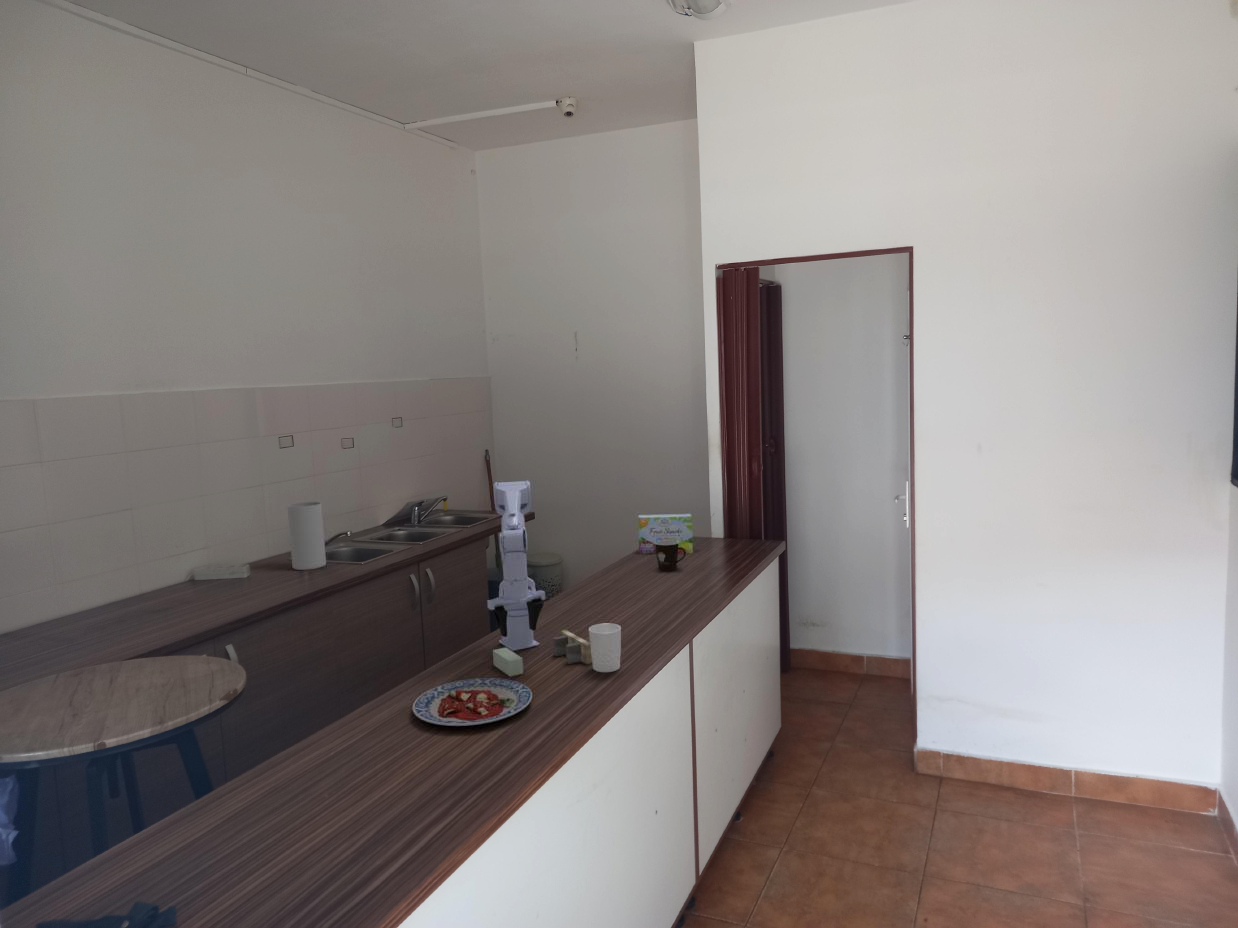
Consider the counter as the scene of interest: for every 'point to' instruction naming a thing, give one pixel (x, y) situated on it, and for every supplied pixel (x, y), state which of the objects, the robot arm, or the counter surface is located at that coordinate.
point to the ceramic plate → (472, 701)
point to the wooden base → (572, 648)
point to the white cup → (605, 647)
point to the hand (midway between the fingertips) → (518, 632)
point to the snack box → (665, 531)
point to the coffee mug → (668, 555)
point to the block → (508, 661)
